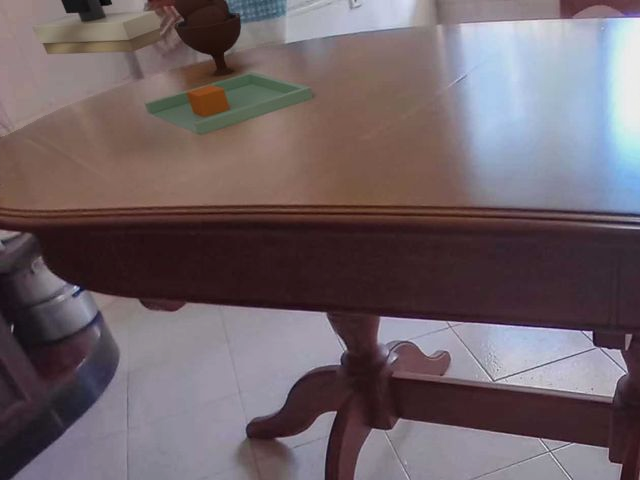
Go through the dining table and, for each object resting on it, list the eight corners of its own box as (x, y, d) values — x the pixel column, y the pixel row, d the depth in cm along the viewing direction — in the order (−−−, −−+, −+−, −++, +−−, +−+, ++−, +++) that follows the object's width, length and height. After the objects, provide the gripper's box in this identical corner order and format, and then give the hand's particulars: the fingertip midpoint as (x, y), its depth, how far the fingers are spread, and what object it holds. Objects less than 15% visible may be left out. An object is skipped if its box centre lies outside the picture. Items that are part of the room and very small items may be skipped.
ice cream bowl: (248, 84, 118) (219, -15, 109) (183, 90, 118) (150, -8, 110) (264, 67, 126) (238, -26, 118) (203, 73, 127) (174, -19, 118)
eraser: (193, 112, 103) (186, 92, 102) (217, 105, 105) (211, 84, 104) (205, 117, 101) (198, 96, 99) (230, 109, 103) (223, 88, 101)
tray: (150, 119, 106) (144, 102, 105) (255, 87, 116) (251, 71, 114) (203, 141, 95) (197, 123, 94) (314, 104, 105) (310, 87, 103)
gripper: (-70, -292, 56) (63, 24, 70) (73, -275, 68) (163, -8, 82) (-136, -277, 58) (6, 27, 72) (15, -263, 70) (112, -5, 84)
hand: (89, 8), depth 77 cm, fingers closed on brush, 3 cm apart
